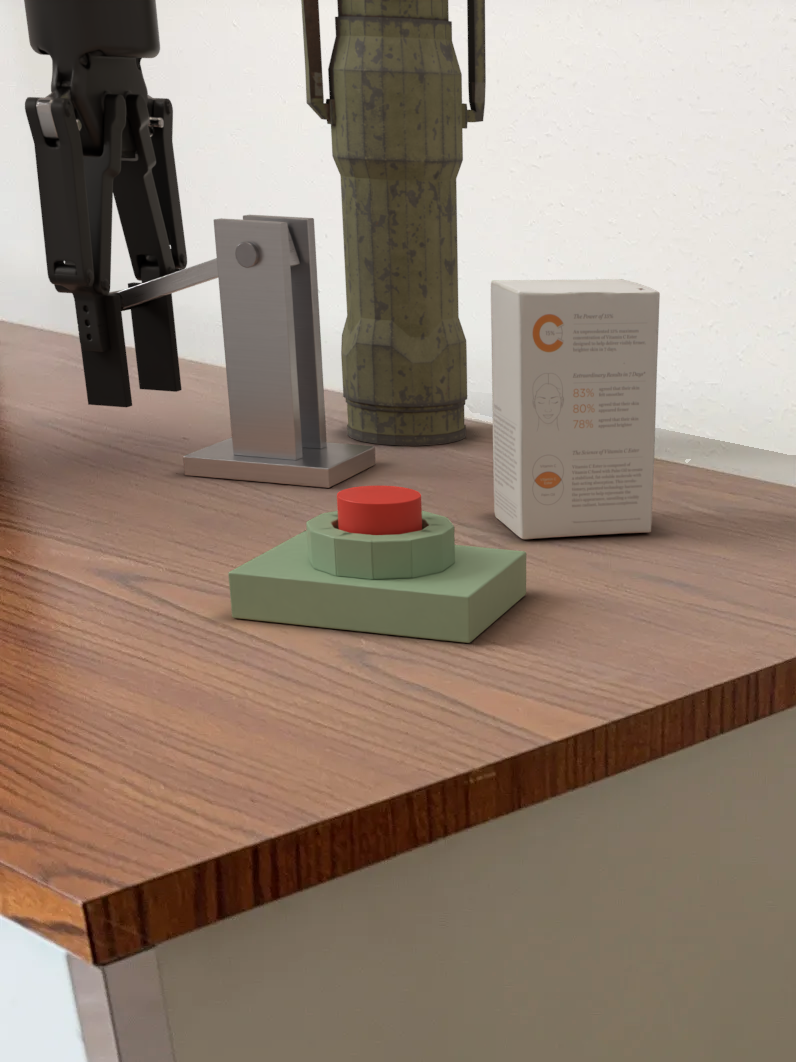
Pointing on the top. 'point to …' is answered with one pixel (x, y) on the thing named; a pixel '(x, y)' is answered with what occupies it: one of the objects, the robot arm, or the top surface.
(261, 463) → the bracket
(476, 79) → the thermos
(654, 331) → the small box
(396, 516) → the button
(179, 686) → the top surface
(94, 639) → the top surface
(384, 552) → the button box
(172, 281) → the lever
